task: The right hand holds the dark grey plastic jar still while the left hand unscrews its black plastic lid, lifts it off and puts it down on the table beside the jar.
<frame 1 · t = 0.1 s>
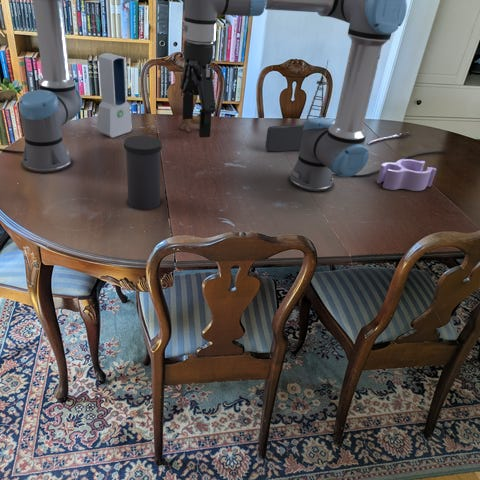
left hand: (199, 89, 153), 28 cm above the table, tool pointing down, fingers open, 13 cm apart
right hand: (195, 127, 123), 28 cm above the table, tool pointing down, fingers open, 13 cm apart
sword: (389, 139, 213), on the table
lion figurine: (195, 130, 200), on the table
lid: (143, 143, 133), point 19 cm above the table, screwed on, not yet turned
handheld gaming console: (291, 150, 191), on the table
clip: (402, 183, 173), on the table
miniature windmill: (313, 126, 219), on the table
electronic device: (115, 132, 189), on the table
jar: (144, 202, 144), on the table
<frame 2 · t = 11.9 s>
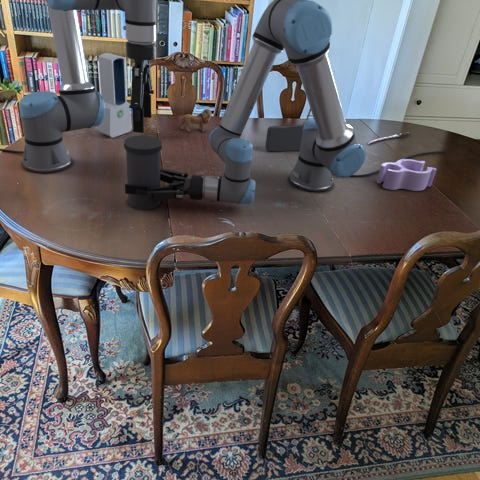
left hand: (142, 124, 130), 25 cm above the table, tool pointing down, fingers open, 12 cm apart
right hand: (129, 181, 140), 7 cm above the table, tool horizontal, fingers closed on jar, 10 cm apart
jar: (144, 202, 144), on the table, touching right hand
everything else where it was.
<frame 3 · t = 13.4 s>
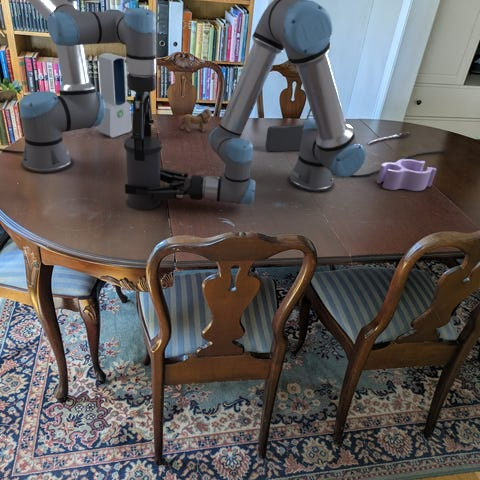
left hand: (143, 152, 135), 16 cm above the table, tool pointing down, fingers closed on lid, 10 cm apart
right hand: (129, 181, 140), 7 cm above the table, tool horizontal, fingers closed on jar, 10 cm apart
lid: (143, 143, 133), point 19 cm above the table, screwed on, not yet turned, touching left hand
jar: (144, 202, 144), on the table, touching right hand
everything else where it was.
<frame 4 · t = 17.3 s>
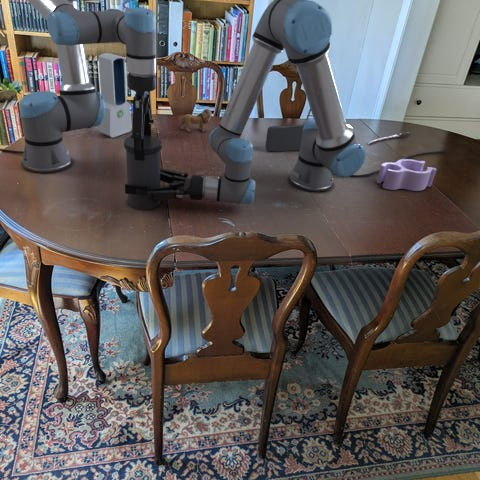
left hand: (143, 152, 135), 16 cm above the table, tool pointing down, fingers closed on lid, 10 cm apart
right hand: (129, 181, 140), 7 cm above the table, tool horizontal, fingers closed on jar, 10 cm apart
lid: (143, 142, 133), point 19 cm above the table, turned 126° so far, risen 0.1 cm, still on its thread, touching left hand
jar: (144, 202, 144), on the table, touching right hand
everything else where it was.
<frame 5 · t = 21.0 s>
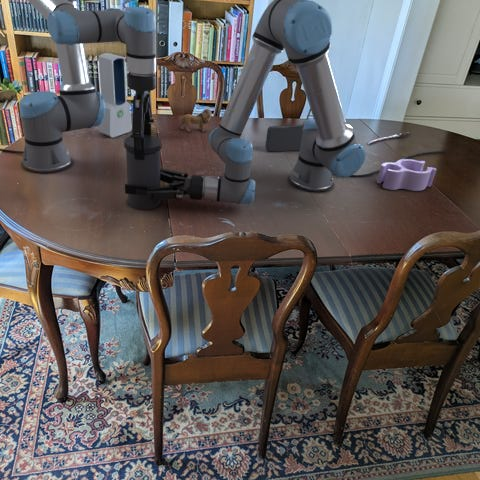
left hand: (143, 151, 135), 17 cm above the table, tool pointing down, fingers closed on lid, 10 cm apart
right hand: (129, 181, 140), 7 cm above the table, tool horizontal, fingers closed on jar, 10 cm apart
lid: (143, 142, 133), point 19 cm above the table, turned 252° so far, risen 0.3 cm, still on its thread, touching left hand
jar: (144, 202, 144), on the table, touching right hand
everything else where it was.
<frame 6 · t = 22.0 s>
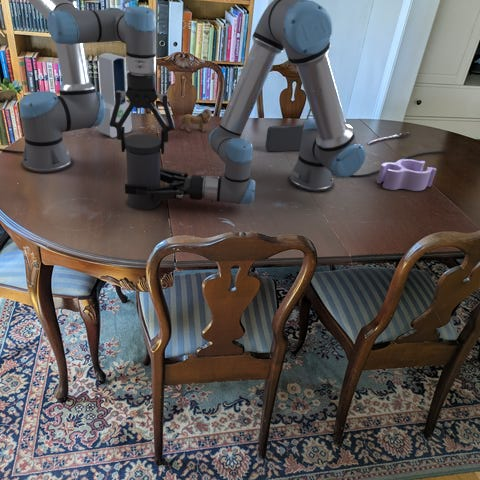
left hand: (143, 151, 135), 17 cm above the table, tool pointing down, fingers closed on lid, 10 cm apart
right hand: (129, 181, 140), 7 cm above the table, tool horizontal, fingers closed on jar, 10 cm apart
lid: (143, 142, 133), point 19 cm above the table, off its thread, touching left hand
jar: (144, 202, 144), on the table, touching right hand
everything else where it was.
when the left hand's fingers open (0 cm above the table, at t = 27.8 s): lid drops 2 cm, point 1 cm above the table.
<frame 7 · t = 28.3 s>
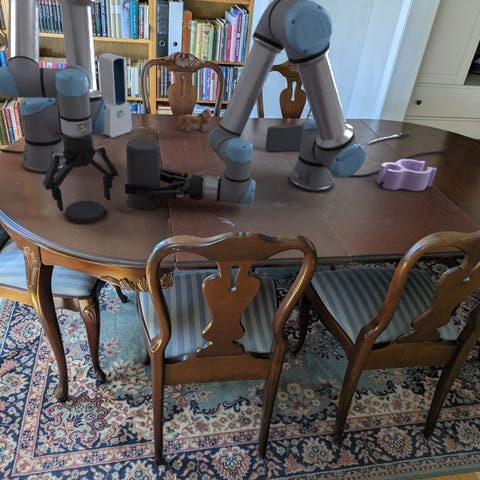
left hand: (84, 203, 133), 3 cm above the table, tool pointing down, fingers open, 13 cm apart
right hand: (129, 181, 140), 7 cm above the table, tool horizontal, fingers closed on jar, 10 cm apart
lid: (84, 210, 134), point 1 cm above the table, off its thread
jar: (144, 202, 144), on the table, touching right hand
everything else where it was.
when the right hand's fingers open (7 cm above the table, at t = 28.8 s): jar stays where it is, on the table.
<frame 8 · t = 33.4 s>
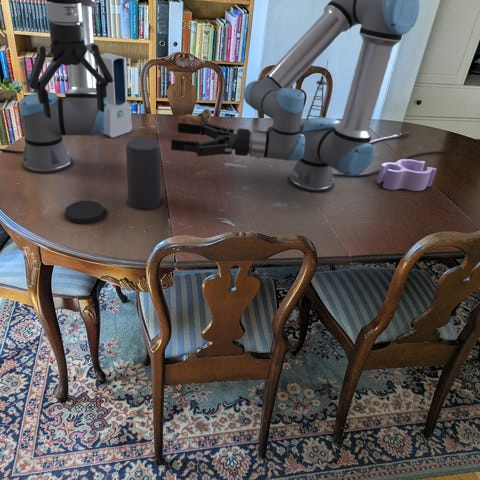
left hand: (75, 113, 119), 30 cm above the table, tool pointing down, fingers open, 13 cm apart
right hand: (174, 135, 132), 22 cm above the table, tool horizontal, fingers open, 13 cm apart
jar: (144, 202, 144), on the table
everything else where it was.
at the end: lid came off its thread; lid point 1.3 cm above the table; the left hand is holding nothing; the right hand is holding nothing; jar tilted 0°; jar moved 0.0 cm from its start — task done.
